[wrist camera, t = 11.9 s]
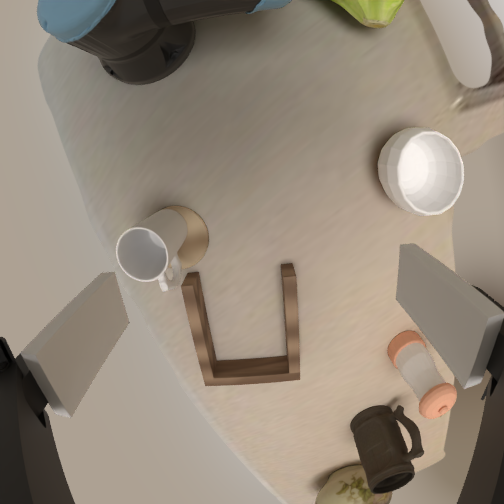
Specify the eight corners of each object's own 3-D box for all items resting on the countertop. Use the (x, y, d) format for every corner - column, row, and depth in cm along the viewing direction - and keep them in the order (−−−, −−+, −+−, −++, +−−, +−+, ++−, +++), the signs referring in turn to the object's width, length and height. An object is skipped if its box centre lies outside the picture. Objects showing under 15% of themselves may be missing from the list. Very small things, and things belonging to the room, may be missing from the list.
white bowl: (428, 209, 44) (460, 223, 35) (363, 201, 44) (387, 215, 35) (436, 136, 40) (470, 137, 31) (369, 122, 40) (396, 117, 31)
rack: (187, 273, 49) (181, 286, 44) (292, 263, 48) (296, 276, 43) (208, 368, 55) (205, 385, 50) (297, 362, 54) (300, 379, 49)
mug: (140, 217, 45) (106, 240, 34) (177, 199, 44) (151, 217, 33) (169, 274, 48) (145, 311, 37) (206, 258, 47) (191, 294, 36)
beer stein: (375, 435, 63) (399, 494, 44) (340, 433, 62) (360, 497, 43) (407, 392, 59) (443, 451, 40) (372, 388, 58) (405, 454, 39)
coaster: (141, 210, 45) (140, 211, 45) (203, 201, 45) (203, 202, 44) (153, 270, 49) (152, 271, 48) (213, 264, 48) (212, 266, 48)
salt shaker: (380, 355, 54) (415, 426, 36) (401, 326, 52) (446, 393, 34) (405, 363, 55) (442, 428, 37) (425, 335, 53) (470, 398, 34)
